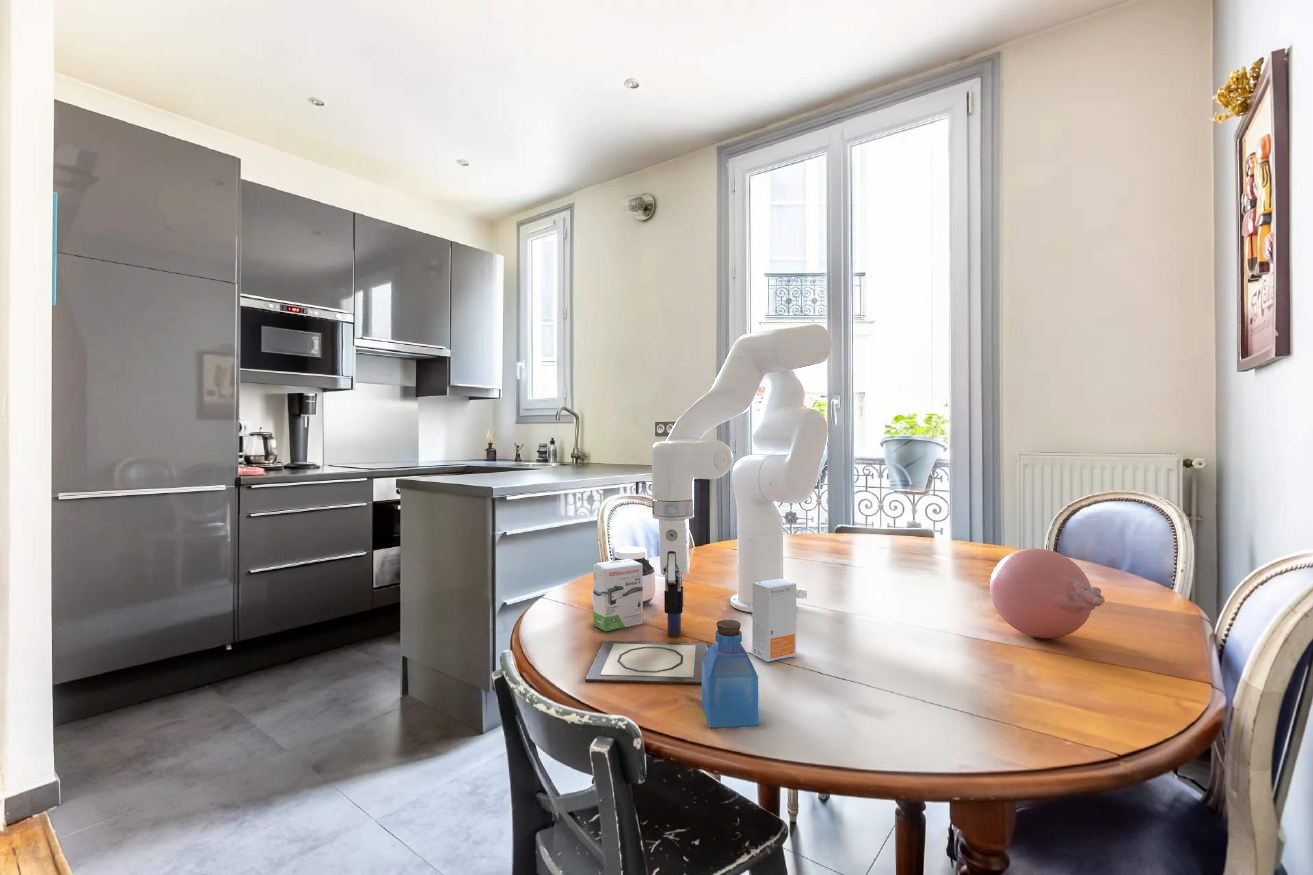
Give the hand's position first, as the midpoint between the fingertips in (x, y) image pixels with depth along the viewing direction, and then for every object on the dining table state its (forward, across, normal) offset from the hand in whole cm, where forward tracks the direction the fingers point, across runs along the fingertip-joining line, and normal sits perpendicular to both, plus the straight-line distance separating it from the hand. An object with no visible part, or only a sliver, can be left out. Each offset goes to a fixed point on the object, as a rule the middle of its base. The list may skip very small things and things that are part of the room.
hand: (674, 609), depth 110 cm
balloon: (+5, +1, -65) cm, 65 cm away
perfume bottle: (+5, -30, -9) cm, 32 cm away
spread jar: (+5, +17, +12) cm, 21 cm away
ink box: (+5, +5, +11) cm, 13 cm away
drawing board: (+5, -13, +3) cm, 14 cm away
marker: (+5, 0, 0) cm, 5 cm away
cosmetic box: (+5, -9, -17) cm, 20 cm away
